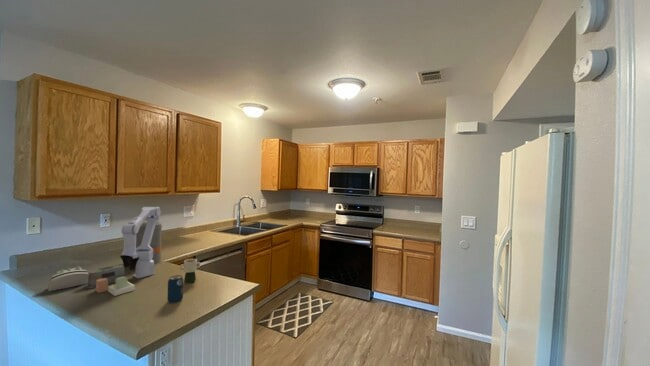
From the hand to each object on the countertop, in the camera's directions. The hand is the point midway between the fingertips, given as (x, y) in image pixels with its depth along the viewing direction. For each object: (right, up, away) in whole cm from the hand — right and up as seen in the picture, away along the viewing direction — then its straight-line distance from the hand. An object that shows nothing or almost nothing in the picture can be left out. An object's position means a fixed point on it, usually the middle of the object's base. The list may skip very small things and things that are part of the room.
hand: (129, 268), depth 154 cm
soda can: (+37, -11, -18) cm, 42 cm away
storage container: (-19, -9, +40) cm, 45 cm away
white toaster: (-42, -9, +10) cm, 44 cm away
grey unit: (-15, -9, +3) cm, 18 cm away
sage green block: (+2, -9, -9) cm, 12 cm away
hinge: (-30, -9, -4) cm, 32 cm away
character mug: (+32, -10, +7) cm, 34 cm away
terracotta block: (-9, -9, -9) cm, 15 cm away
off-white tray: (+2, -10, -9) cm, 13 cm away
